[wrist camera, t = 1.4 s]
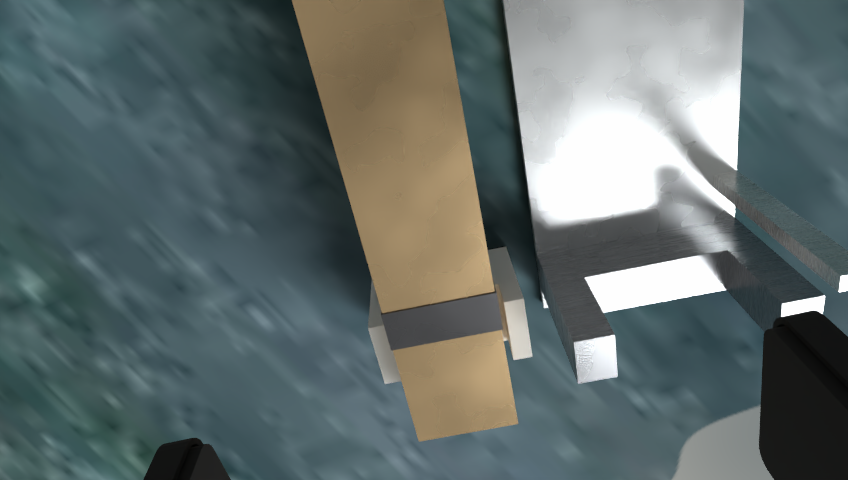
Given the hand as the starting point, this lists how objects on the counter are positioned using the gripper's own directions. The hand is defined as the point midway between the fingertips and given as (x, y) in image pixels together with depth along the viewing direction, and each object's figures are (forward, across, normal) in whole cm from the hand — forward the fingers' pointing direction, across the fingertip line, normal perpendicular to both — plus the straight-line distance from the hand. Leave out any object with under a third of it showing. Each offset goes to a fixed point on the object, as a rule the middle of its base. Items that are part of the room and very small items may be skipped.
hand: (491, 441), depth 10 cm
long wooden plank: (+14, +1, -2) cm, 14 cm away
